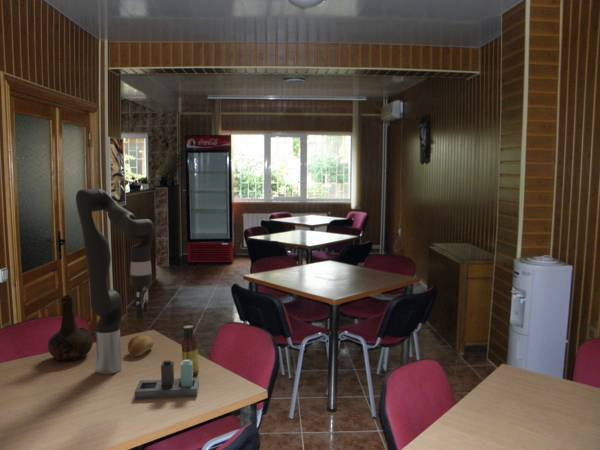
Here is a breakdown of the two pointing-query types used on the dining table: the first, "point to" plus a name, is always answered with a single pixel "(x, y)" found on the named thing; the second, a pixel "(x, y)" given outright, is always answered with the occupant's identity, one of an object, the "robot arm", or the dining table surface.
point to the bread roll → (139, 345)
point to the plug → (186, 373)
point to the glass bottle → (69, 335)
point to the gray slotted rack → (165, 385)
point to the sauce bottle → (190, 348)
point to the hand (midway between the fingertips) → (142, 315)
